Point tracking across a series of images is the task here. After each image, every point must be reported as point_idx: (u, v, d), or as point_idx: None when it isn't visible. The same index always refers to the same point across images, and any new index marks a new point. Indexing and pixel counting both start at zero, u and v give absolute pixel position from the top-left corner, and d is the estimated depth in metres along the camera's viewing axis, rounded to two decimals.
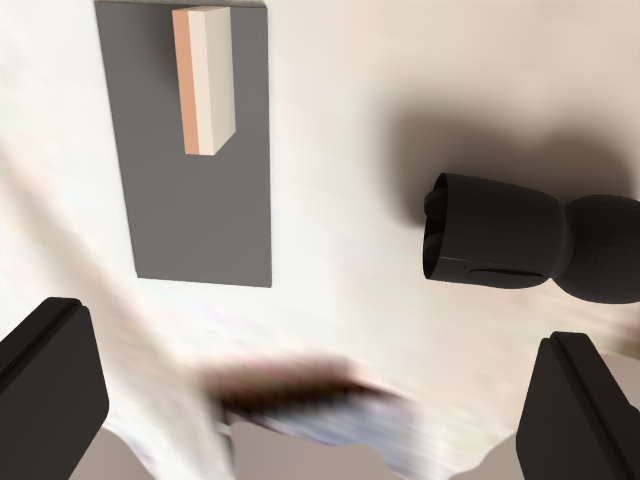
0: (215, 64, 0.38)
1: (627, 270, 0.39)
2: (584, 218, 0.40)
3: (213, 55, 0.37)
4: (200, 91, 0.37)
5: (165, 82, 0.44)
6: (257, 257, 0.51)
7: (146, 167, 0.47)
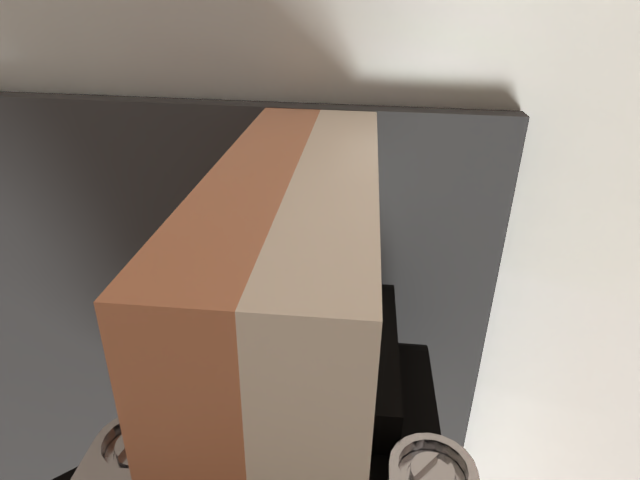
0: None
1: None
2: None
3: None
4: None
5: None
6: None
7: None
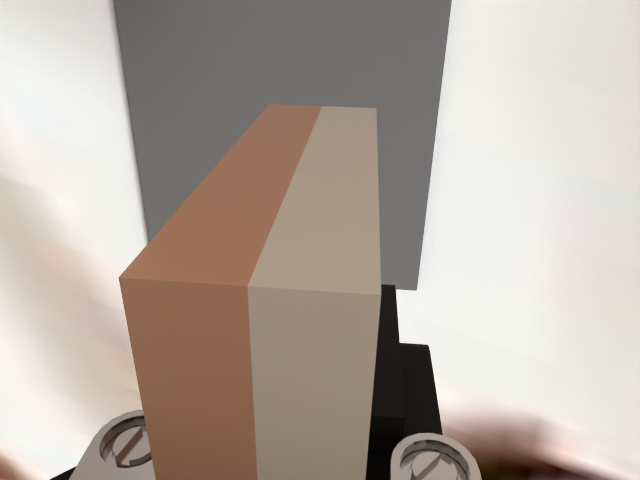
0: None
1: None
2: None
3: None
4: None
5: None
6: (397, 228, 0.25)
7: (174, 32, 0.22)
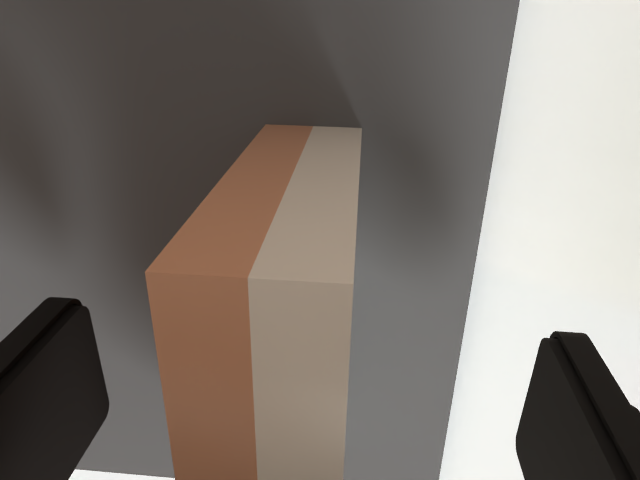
0: None
1: None
2: None
3: None
4: None
5: None
6: (404, 416, 0.15)
7: (0, 103, 0.12)
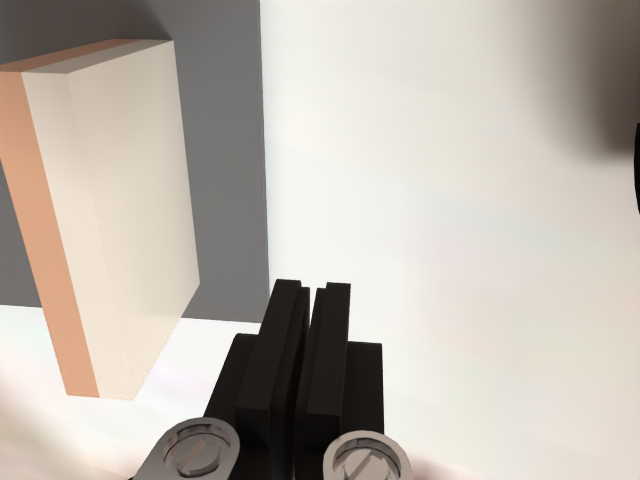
0: (127, 193, 0.15)
1: None
2: None
3: (119, 172, 0.14)
4: (84, 271, 0.14)
5: None
6: (236, 254, 0.22)
7: None
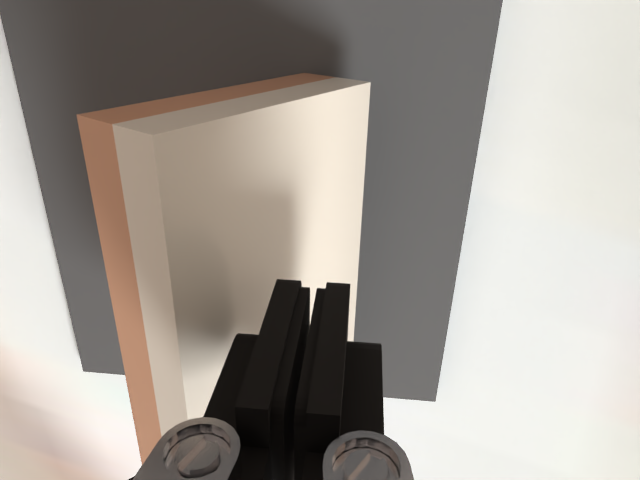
0: (242, 280, 0.11)
1: None
2: None
3: (233, 256, 0.11)
4: (162, 369, 0.11)
5: None
6: (411, 324, 0.18)
7: (90, 54, 0.15)
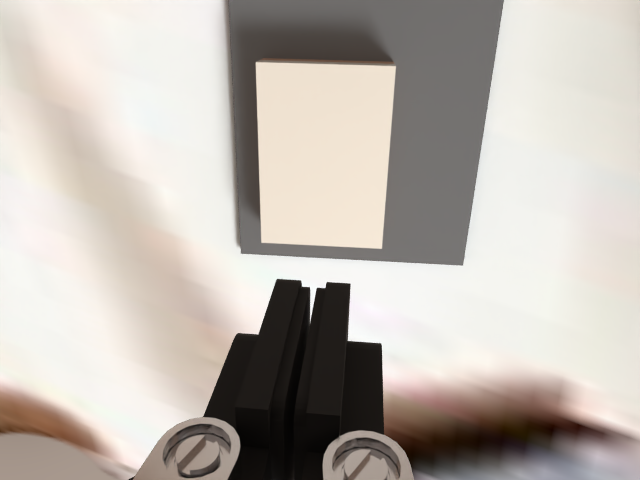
0: (293, 136, 0.27)
1: None
2: None
3: (288, 122, 0.27)
4: None
5: None
6: (449, 212, 0.31)
7: (277, 53, 0.28)
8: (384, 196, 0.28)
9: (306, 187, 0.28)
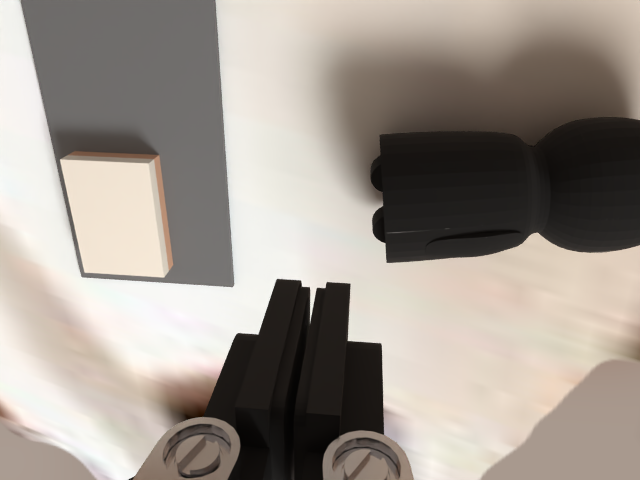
0: (92, 205, 0.41)
1: (621, 203, 0.30)
2: (556, 152, 0.32)
3: (87, 196, 0.40)
4: None
5: (98, 46, 0.37)
6: (215, 251, 0.44)
7: (83, 148, 0.41)
8: (158, 243, 0.42)
9: (107, 237, 0.42)
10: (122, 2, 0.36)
